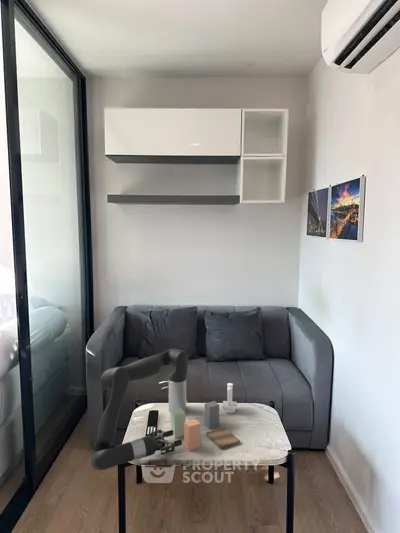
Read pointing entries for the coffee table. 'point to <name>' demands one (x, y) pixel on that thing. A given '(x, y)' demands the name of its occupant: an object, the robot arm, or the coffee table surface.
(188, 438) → the terracotta brick
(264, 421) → the coffee table surface
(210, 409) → the charcoal brick
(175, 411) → the sage brick
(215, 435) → the walnut board
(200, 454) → the coffee table surface
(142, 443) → the robot arm
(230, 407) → the figurine
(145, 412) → the coffee table surface
